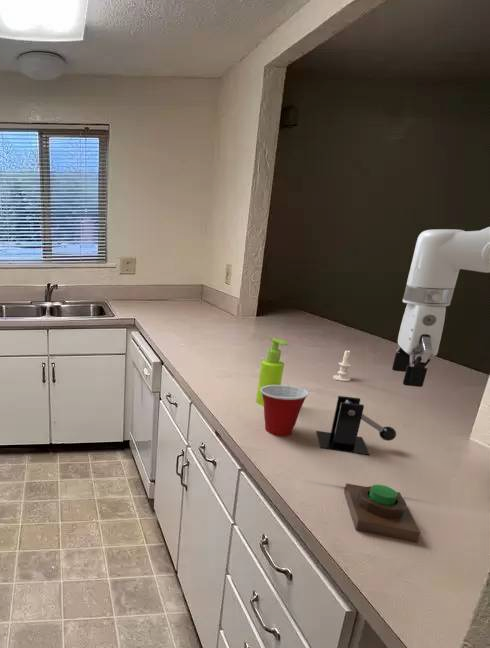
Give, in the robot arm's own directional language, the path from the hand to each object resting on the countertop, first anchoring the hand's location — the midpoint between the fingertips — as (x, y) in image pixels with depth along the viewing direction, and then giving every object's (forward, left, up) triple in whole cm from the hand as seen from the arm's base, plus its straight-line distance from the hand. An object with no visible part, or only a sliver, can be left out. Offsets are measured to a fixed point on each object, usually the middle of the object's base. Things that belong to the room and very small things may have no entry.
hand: (406, 377), depth 91 cm
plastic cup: (+22, -6, -20) cm, 30 cm away
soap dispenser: (+24, -24, -20) cm, 39 cm away
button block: (+6, +23, -20) cm, 31 cm away
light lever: (+5, -4, -14) cm, 15 cm away
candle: (0, -57, -20) cm, 60 cm away
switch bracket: (+8, -4, -20) cm, 22 cm away
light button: (+6, +23, -16) cm, 29 cm away
